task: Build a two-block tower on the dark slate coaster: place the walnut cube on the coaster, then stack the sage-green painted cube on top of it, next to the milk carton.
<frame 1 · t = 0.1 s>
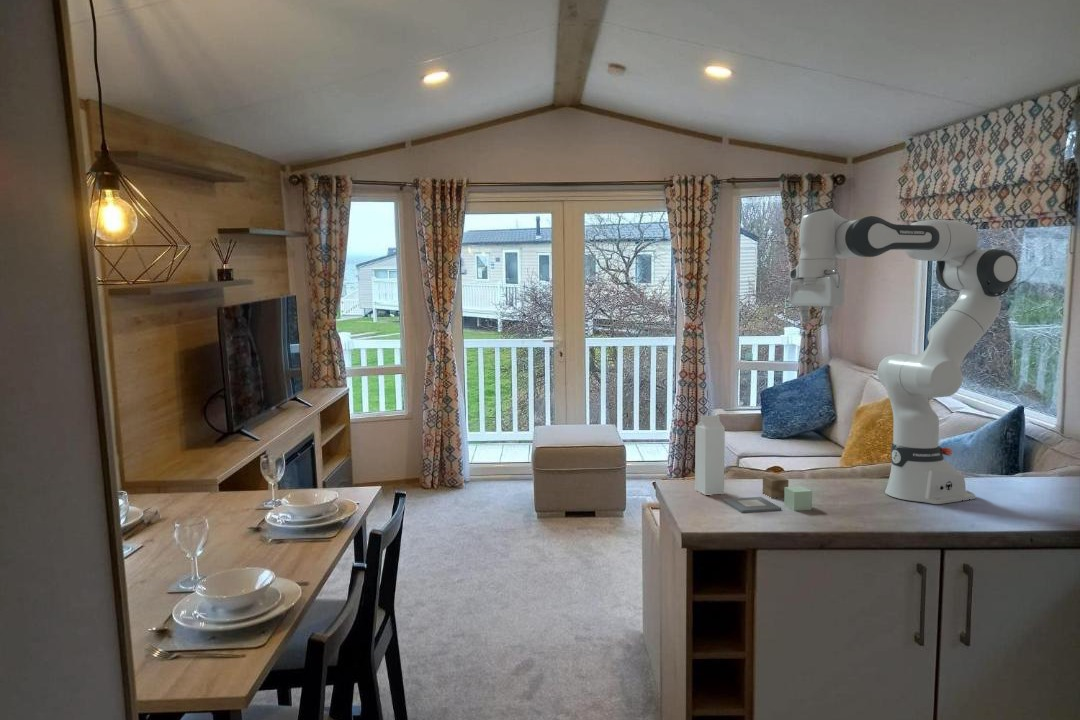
hand: (815, 323, 191), 48 cm above the table, fingers open, 8 cm apart
milk: (709, 493, 205), on the table
coaster: (751, 505, 191), on the table
walnut block: (775, 495, 201), on the table
green block: (797, 507, 189), on the table
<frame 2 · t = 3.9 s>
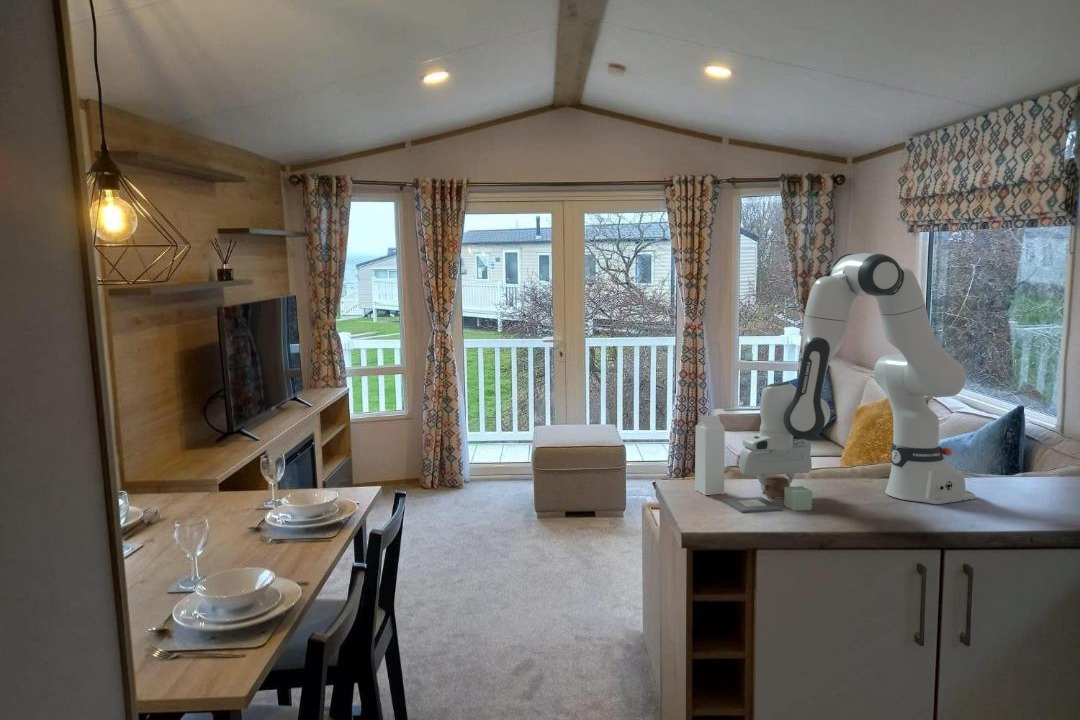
hand: (775, 489, 201), 2 cm above the table, fingers closed on walnut block, 5 cm apart
walnut block: (775, 495, 201), on the table, touching gripper
everything else where it was.
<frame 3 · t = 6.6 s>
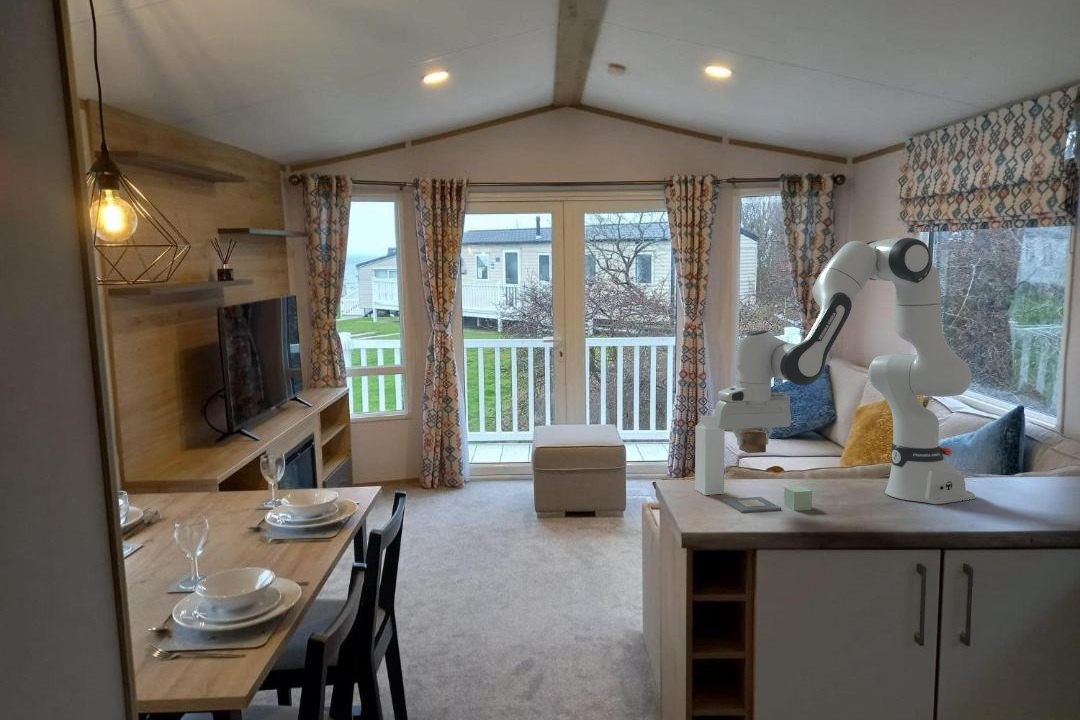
hand: (752, 444, 190), 16 cm above the table, fingers closed on walnut block, 5 cm apart
walnut block: (752, 450, 190), point 15 cm above the table, touching gripper
everything else where it was.
when the fingers open (3 cm above the table, at t = 9.2 s): walnut block stays where it is, resting on coaster.
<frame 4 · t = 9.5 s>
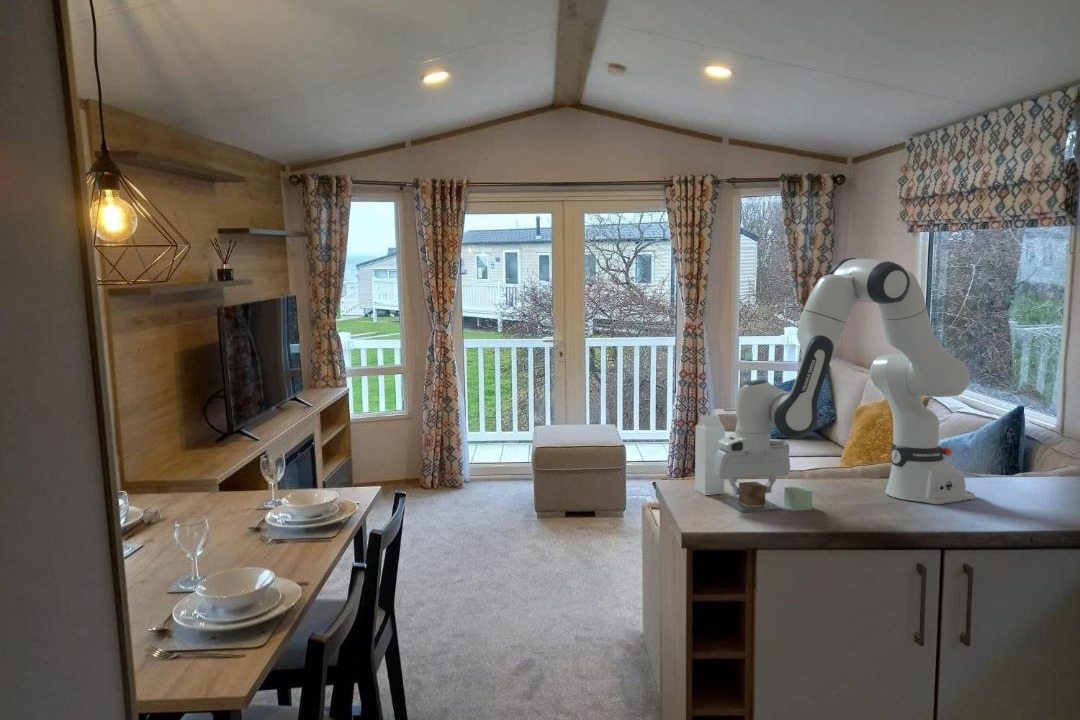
hand: (751, 493, 191), 3 cm above the table, fingers open, 7 cm apart
walnut block: (751, 502, 191), point 1 cm above the table, touching coaster
everything else where it was.
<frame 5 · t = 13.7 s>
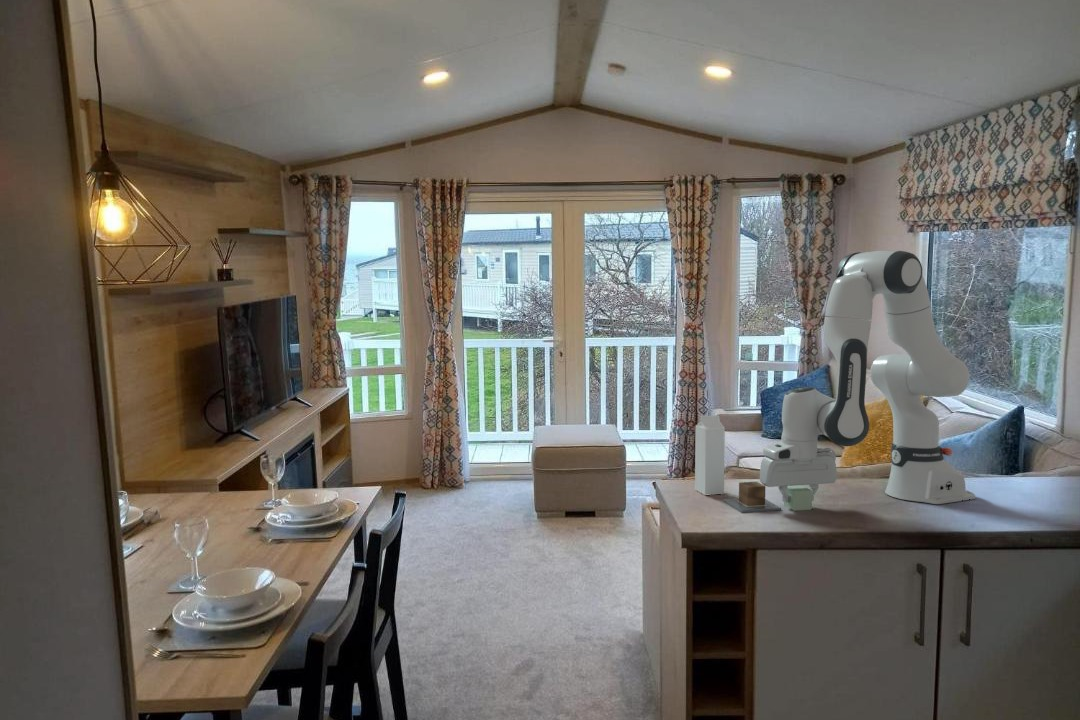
hand: (798, 501, 189), 2 cm above the table, fingers closed on green block, 5 cm apart
green block: (797, 507, 189), on the table, touching gripper
everything else where it was.
when the fingers open (8 cm above the table, at t = 18.9 s): green block drops 1 cm, resting on walnut block.
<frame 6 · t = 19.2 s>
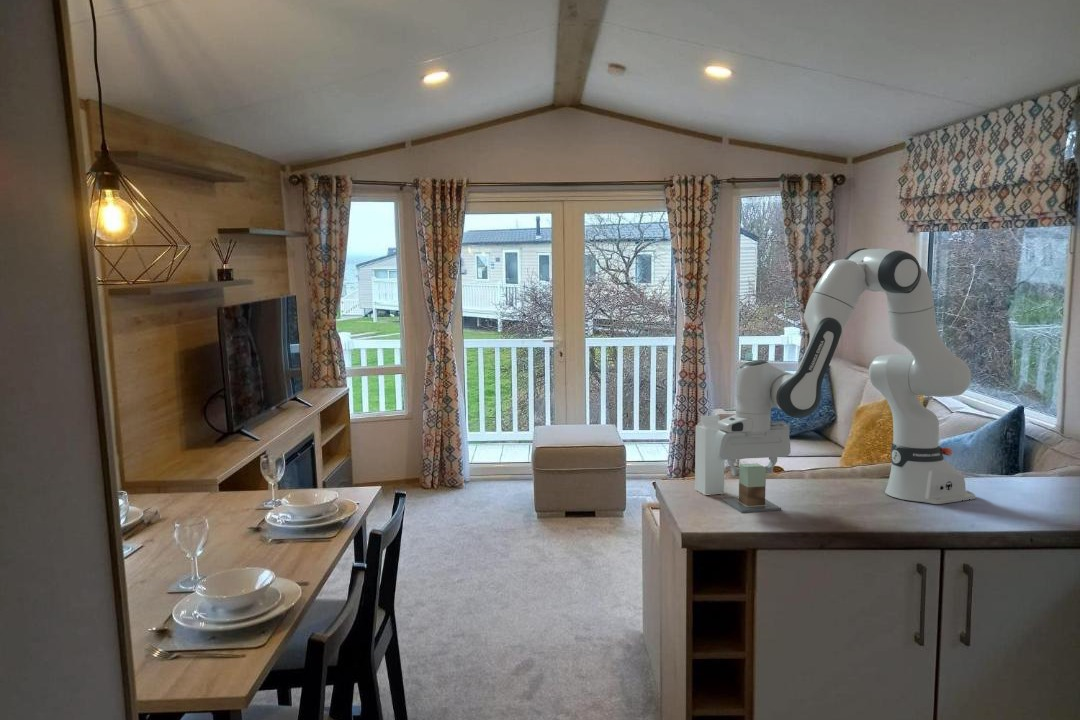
hand: (752, 474, 191), 8 cm above the table, fingers open, 8 cm apart
walnut block: (751, 502, 191), point 1 cm above the table, touching coaster, green block
green block: (752, 484, 191), point 6 cm above the table, touching walnut block
everything else where it was.
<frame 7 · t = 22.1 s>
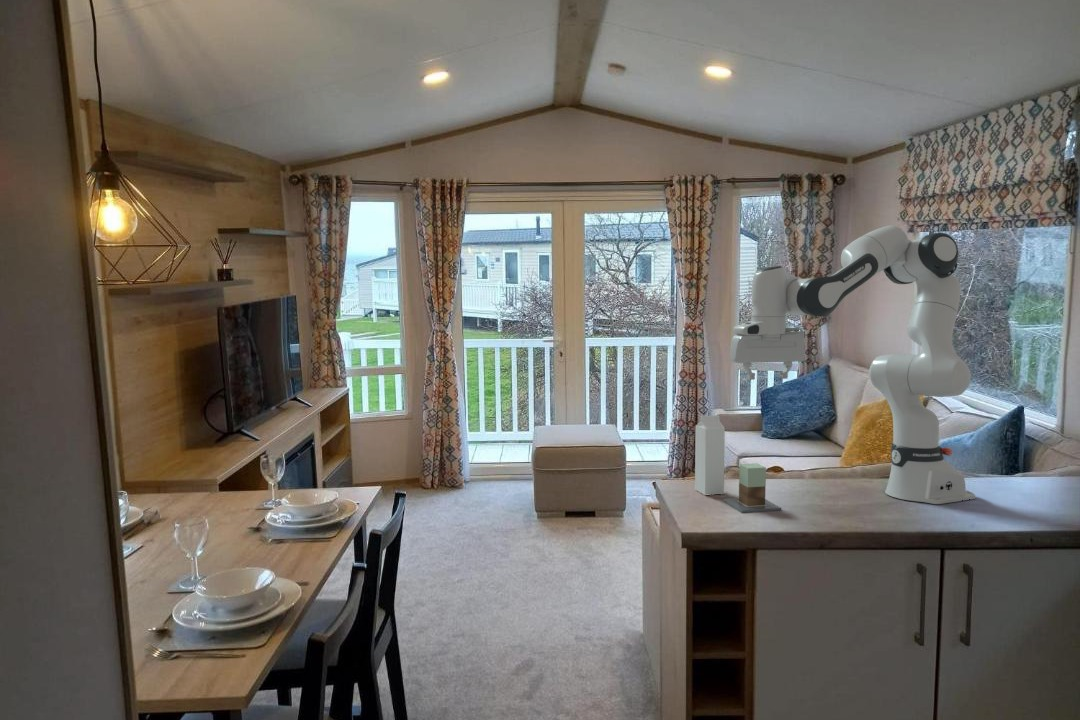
hand: (767, 379, 194), 33 cm above the table, fingers open, 8 cm apart
nothing on the table moved.
at the end: walnut block inside the target area on the coaster (0.1 cm from its centre), point 0.7 cm above the coaster's base; green block 0.1 cm off-centre on the walnut block, point 5.0 cm above the walnut block's base; green block tilted 0° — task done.
